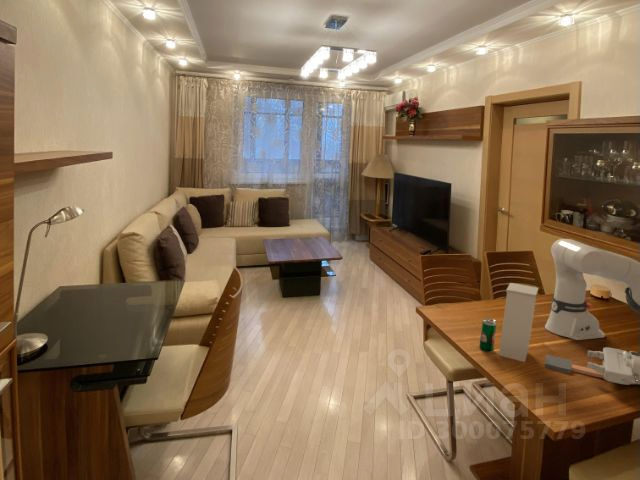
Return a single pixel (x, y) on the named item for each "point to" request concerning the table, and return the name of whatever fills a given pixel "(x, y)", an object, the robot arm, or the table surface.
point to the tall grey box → (517, 321)
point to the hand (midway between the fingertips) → (587, 358)
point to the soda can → (488, 335)
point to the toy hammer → (569, 366)
